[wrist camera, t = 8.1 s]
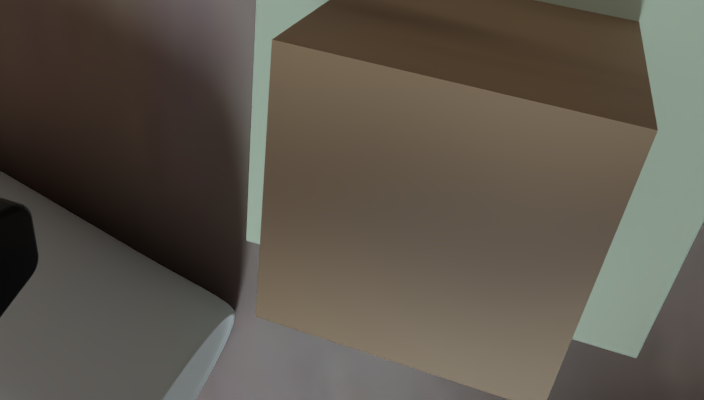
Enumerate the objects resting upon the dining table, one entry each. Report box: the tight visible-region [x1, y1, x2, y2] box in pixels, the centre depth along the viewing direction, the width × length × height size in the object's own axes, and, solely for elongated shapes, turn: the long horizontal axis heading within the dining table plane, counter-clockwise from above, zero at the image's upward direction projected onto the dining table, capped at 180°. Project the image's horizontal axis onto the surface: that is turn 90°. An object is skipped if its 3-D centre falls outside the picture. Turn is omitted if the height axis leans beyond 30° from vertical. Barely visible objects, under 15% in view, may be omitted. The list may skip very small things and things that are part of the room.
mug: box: [0, 171, 235, 400], centre depth 22 cm, size 12×8×11 cm
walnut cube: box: [256, 0, 658, 400], centre depth 12 cm, size 5×5×5 cm
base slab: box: [246, 0, 704, 358], centre depth 15 cm, size 10×10×3 cm
